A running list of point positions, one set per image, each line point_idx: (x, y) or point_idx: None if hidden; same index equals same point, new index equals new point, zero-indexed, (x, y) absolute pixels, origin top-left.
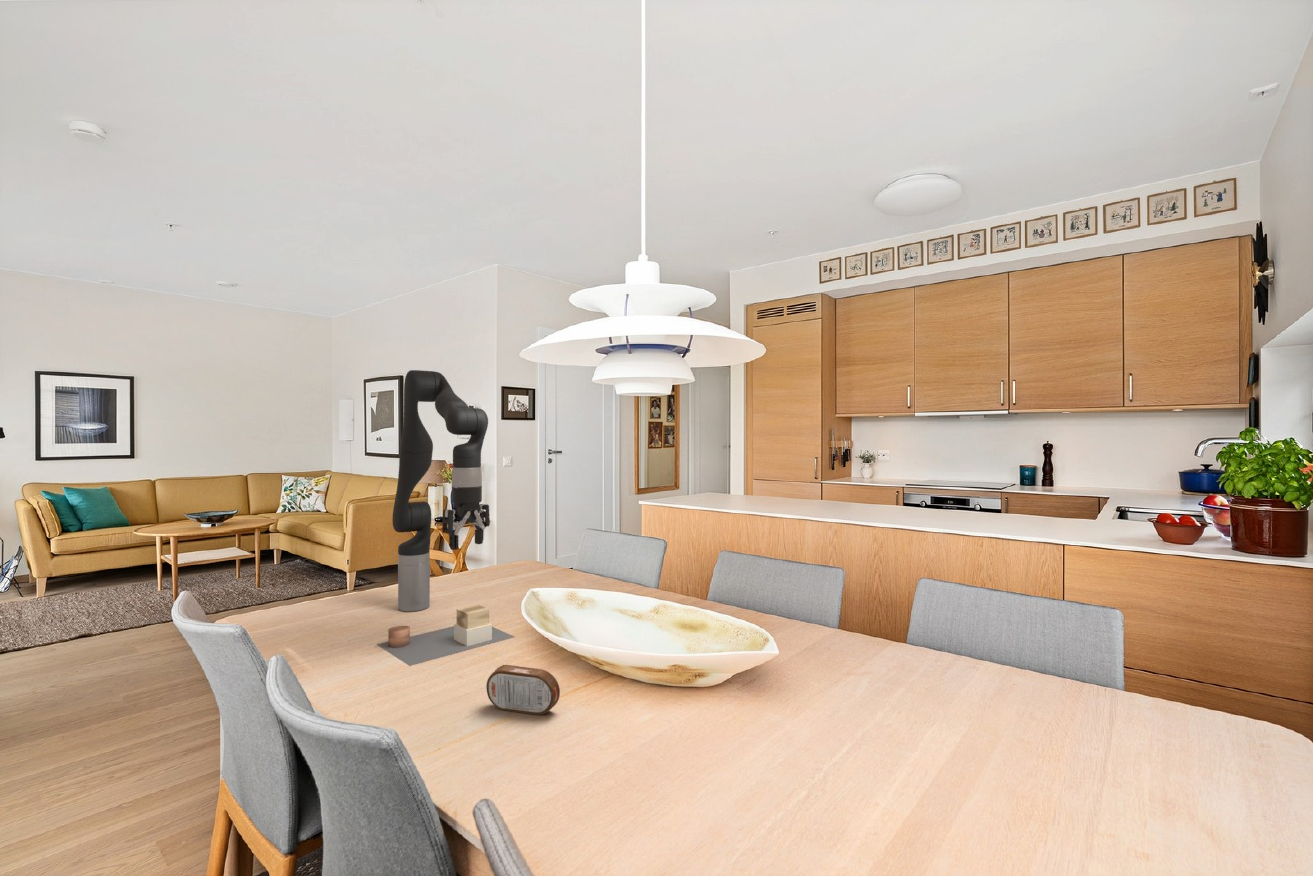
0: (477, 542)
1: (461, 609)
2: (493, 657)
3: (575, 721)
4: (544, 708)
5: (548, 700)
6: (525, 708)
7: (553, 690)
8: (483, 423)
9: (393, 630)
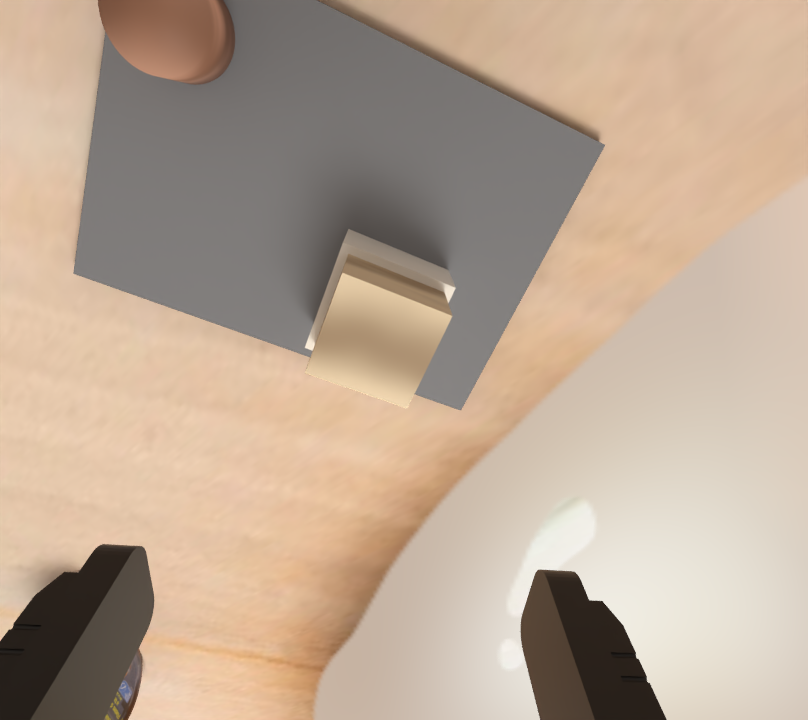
0: (533, 611)
1: (345, 302)
2: (307, 427)
3: (140, 699)
4: None
5: None
6: None
7: None
8: None
9: (119, 6)
